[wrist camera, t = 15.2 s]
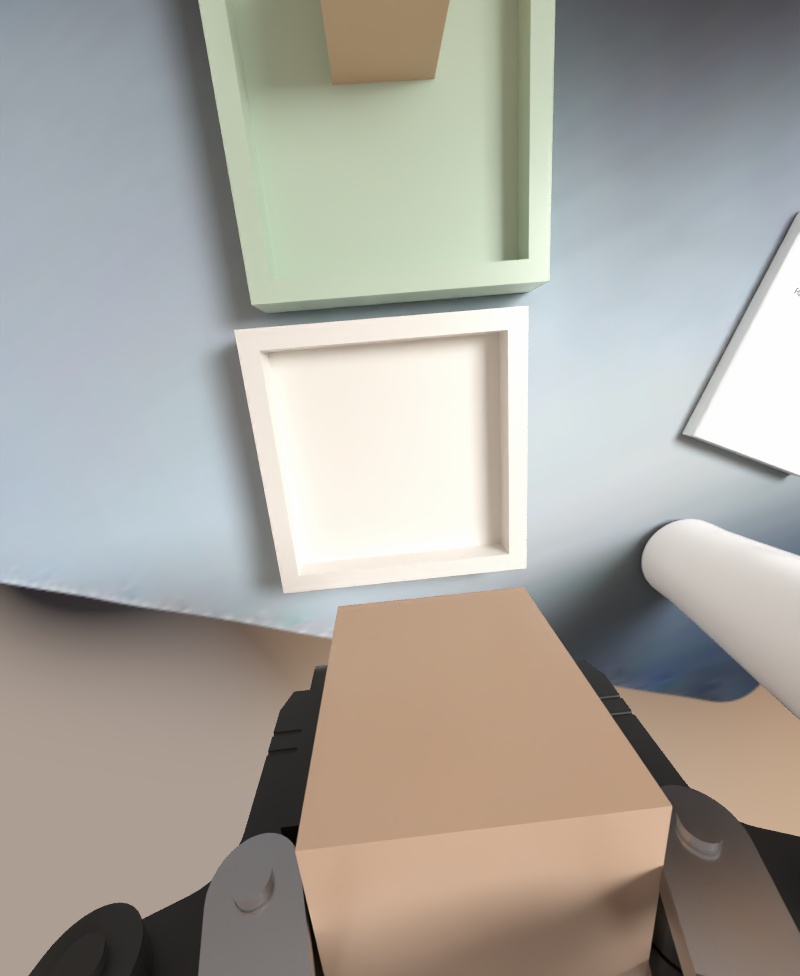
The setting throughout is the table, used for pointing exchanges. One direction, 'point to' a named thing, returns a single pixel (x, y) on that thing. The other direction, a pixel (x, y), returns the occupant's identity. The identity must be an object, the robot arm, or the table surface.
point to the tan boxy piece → (383, 39)
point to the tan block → (474, 801)
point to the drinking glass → (734, 598)
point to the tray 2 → (392, 445)
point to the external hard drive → (760, 373)
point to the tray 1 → (386, 157)
